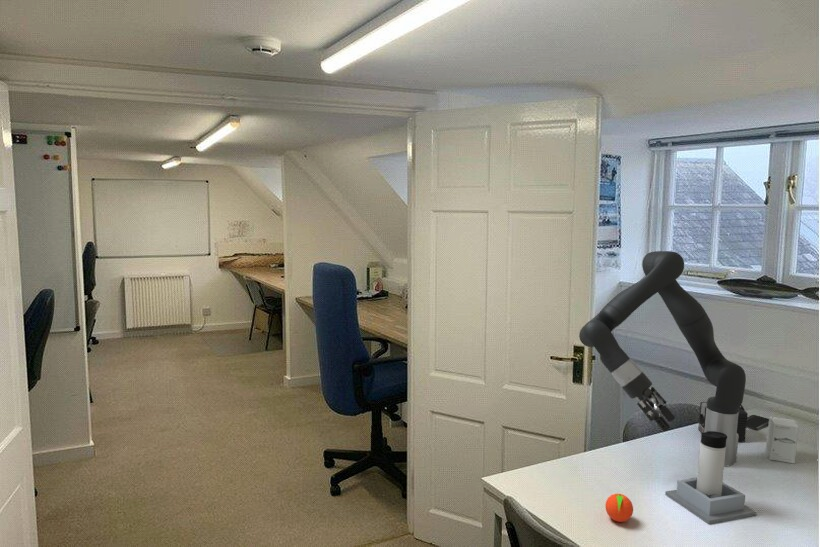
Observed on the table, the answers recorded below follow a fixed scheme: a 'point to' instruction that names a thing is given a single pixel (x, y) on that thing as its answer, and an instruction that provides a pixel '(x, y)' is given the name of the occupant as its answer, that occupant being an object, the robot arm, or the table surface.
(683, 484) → the mug dock
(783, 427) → the supplement box
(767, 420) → the phone
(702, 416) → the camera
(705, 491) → the travel mug
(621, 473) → the table surface
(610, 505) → the clementine
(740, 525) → the table surface
